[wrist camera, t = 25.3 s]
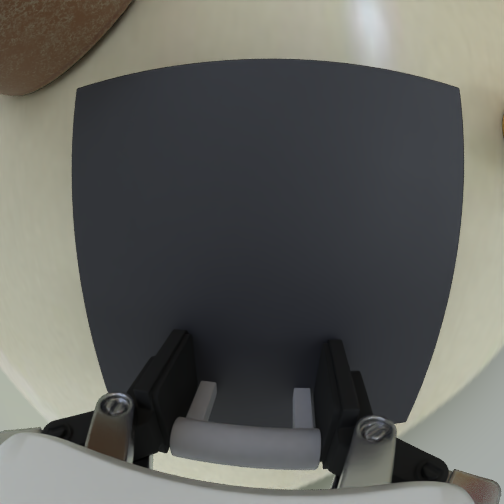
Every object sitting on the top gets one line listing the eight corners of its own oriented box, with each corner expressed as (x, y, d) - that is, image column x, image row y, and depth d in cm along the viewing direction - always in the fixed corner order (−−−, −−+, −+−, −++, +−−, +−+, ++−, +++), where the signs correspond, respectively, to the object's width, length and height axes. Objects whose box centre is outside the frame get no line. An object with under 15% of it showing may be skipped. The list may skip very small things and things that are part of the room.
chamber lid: (402, 412, 12) (427, 480, 8) (116, 392, 14) (75, 449, 9) (450, 91, 8) (521, 60, 4) (86, 91, 10) (10, 68, 5)
